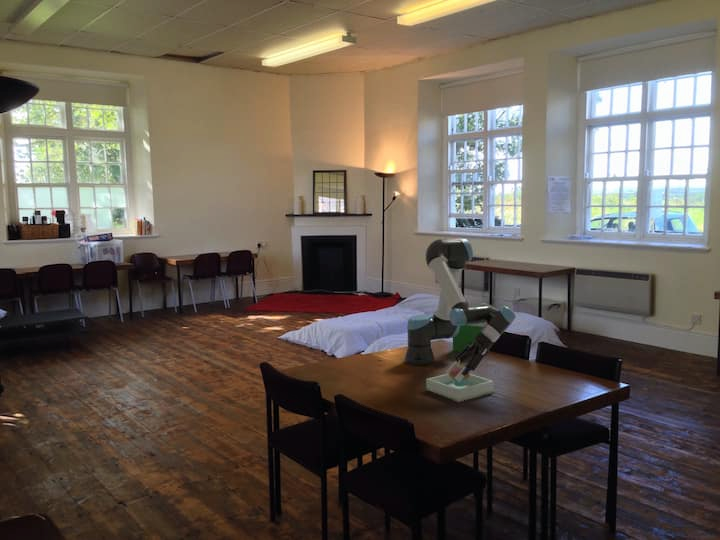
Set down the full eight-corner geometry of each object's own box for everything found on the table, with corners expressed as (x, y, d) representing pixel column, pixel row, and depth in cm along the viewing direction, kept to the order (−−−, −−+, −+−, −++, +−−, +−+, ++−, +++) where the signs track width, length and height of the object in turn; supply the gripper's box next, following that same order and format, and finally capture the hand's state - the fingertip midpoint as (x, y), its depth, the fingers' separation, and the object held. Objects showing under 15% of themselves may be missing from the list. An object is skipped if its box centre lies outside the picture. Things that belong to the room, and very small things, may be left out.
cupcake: (469, 388, 256) (469, 360, 255) (449, 387, 258) (449, 359, 256) (469, 382, 265) (469, 355, 263) (449, 381, 266) (449, 354, 264)
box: (426, 390, 264) (426, 378, 263) (460, 381, 275) (460, 370, 274) (458, 402, 247) (458, 390, 247) (493, 392, 259) (493, 381, 258)
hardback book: (488, 351, 327) (489, 307, 324) (484, 354, 320) (484, 309, 318) (458, 347, 336) (458, 305, 333) (452, 350, 330) (452, 307, 327)
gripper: (504, 348, 252) (468, 390, 250) (481, 337, 273) (448, 375, 271) (492, 337, 250) (456, 378, 248) (470, 326, 271) (437, 365, 269)
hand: (452, 377), depth 260 cm, fingers closed on cupcake, 9 cm apart
